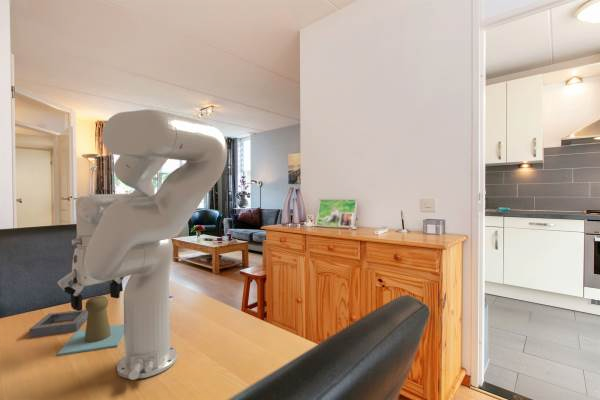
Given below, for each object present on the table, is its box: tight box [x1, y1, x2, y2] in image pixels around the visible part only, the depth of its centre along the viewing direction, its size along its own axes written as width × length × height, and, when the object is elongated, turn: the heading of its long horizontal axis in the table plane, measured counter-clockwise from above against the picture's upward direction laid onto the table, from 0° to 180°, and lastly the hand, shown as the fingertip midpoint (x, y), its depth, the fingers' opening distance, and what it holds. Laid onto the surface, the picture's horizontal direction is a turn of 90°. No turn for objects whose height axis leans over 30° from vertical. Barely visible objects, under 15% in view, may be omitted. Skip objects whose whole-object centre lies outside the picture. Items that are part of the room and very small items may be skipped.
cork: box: [84, 295, 111, 343], centre depth 81 cm, size 6×6×11 cm
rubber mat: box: [57, 323, 124, 356], centre depth 81 cm, size 13×13×1 cm
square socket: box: [29, 308, 88, 339], centre depth 89 cm, size 11×11×2 cm
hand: (97, 303), depth 81 cm, fingers open, 9 cm apart
